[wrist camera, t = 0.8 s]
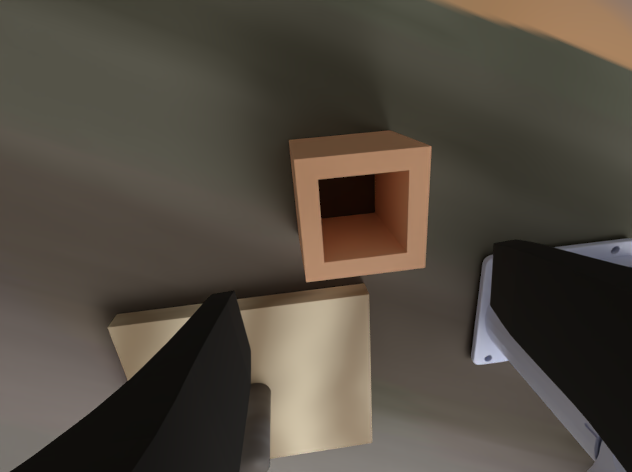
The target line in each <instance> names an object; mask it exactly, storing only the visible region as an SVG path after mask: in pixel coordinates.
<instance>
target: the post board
mask: <svg viewBox="0 0 632 472" xmlns="http://www.w3.org/2000/svg"><path fill="white" fill-rule="evenodd" d="M237 302H238V305H239V309H240V312H241V316H242V319H243V323H244V327H245V330H246V334H247V337H248V341H249V345H250V348H251V388H250V396H249V404H248V412H247V419H246V426H245V434H244V441H243V449H242V456H241V463H240V471H239V472H267V471H268V469H269V467H270V459H272V458H278V457H284V456H291V455H297V454H304V453H310V452H316V451H323V450H329V449H336V448H342V447H348V446H355V445H361V444H367V443H372V409H371V360H370V311H369V293H368V291H367V289H366V286H365V284H364V283H363V284H355V285H347V286H338V287H330V288H322V289H314V290H306V291H298V292H290V293H282V294H274V295H266V296H258V297H250V298H242V299H237ZM202 304H203V303H202ZM202 304H194V305H186V306H178V307H170V308H162V309H154V310H146V311H138V312H130V313H122V314H117V315H116V316H115V318H114V319H113V320H112V322H111V323H110V325H109V326H108V330H109V333H110V335H111V338H112V341H113V343H114V346H115V348H116V351H117V354H118V356H119V359H120V361H121V364H122V367H123V369H124V372H125V374H126V377H127V380H129V379H130V378H132V377H133V376H134V375H135V374H136V373H137V372H138V371H139V370H140V369H141V368H142V367H143V366H144V365H145V364H146V363H147V362H148V361H149V360H150V359H151V358H152V357H153V356H154V355H155V354H156V353H157V352H158V351H159V350H160V349H161V348H162V347H163V346H164V345H165V344H166V343H167V342H168V341H169V340H170V339H171V338H172V337H173V336H174V335H175V334H176V333H177V331H178V330H179V329H180V328H181V327H182V326H183V325H184V324H185V323H186V322H187V321H188V320H189V318H190V317H191V316H192V315H193V314H194V313H195V312H196V311H197V310H198V308H199V307H200V306H201V305H202Z"/></svg>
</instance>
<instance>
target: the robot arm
mask: <svg viewBox="0 0 632 472" xmlns="http://www.w3.org/2000/svg"><path fill="white" fill-rule="evenodd" d="M612 248H613V249H612ZM486 356H487V357H486ZM471 359H472V361H473V362H474V363H475V364H476V365H482V364H489V363H496V362H503V361H509V362H510V363H511V364H512V365H513V366H514V368H515V369H516V370H517V371H518V372H519V373H520V375H521V376H522V377H523V378H524V379H525V380H526V382H527V383H528V384H529V385H530V386H531V388H532V389H533V390H534V391H535V392H536V393H537V395H538V396H539V397H540V398H541V399H542V400H543V402H544V403H545V404H546V405H547V406H548V407H549V409H550V410H551V411H552V412H553V413H554V414H555V416H556V417H557V418H558V419H559V420H560V421H561V423H562V424H563V425H564V426H565V427H566V429H567V430H568V431H569V432H570V433H571V434H572V436H573V437H574V438H575V439H576V440H577V441H578V443H579V444H580V445H581V446H582V447H583V448H584V450H585V451H586V452H587V453H588V454H589V455H590V457H591V458H592V459H593V460H594V461H595V462H594V464H593V465H592V466H591V467H590V468H589V469H588V470H587V472H632V239H631V238H625V239H617V240H609V241H601V242H593V243H584V244H576V245H568V246H560V247H550V246H546V245H541V244H537V243H532V242H528V241H522V240H510V241H505V242H499V243H494V248H493V255H489V256H487V257H486V258H485V259H484V260H483V263H482V271H481V279H480V287H479V295H478V303H477V311H476V319H475V327H474V336H473V344H472V352H471ZM250 388H251V348H250V345H249V341H248V337H247V334H246V330H245V327H244V323H243V319H242V316H241V312H240V309H239V305H238V302H237V298H236V294H235V291H228V292H223V293H217V294H212V295H211V296H210V297H209V298H208V299H207V300H206V301H205V302H204V303H203V304H202V305H201V306H200V307H199V308H198V310H197V311H196V312H195V313H194V314H193V315H192V316H191V317H190V318H189V320H188V321H187V322H186V323H185V324H184V325H183V326H182V327H181V328H180V329H179V330H178V331H177V333H176V334H175V335H174V336H173V337H172V338H171V339H170V340H169V341H168V342H167V343H166V344H165V345H164V346H163V347H162V348H161V349H160V350H159V351H158V352H157V353H156V354H155V355H154V356H153V357H152V358H151V359H150V360H149V361H148V362H147V363H146V364H145V365H144V366H143V367H142V368H141V369H140V370H139V371H138V372H137V373H136V374H135V375H134V376H133V377H132V378H130V379H129V380H128V381H127V382H126V383H125V384H124V385H123V386H122V387H120V388H119V389H118V390H117V391H116V392H115V393H113V394H112V395H111V396H110V397H109V398H107V399H106V400H105V401H104V402H103V403H102V404H100V405H99V406H98V407H97V408H96V409H94V410H93V411H92V412H91V413H89V414H88V415H87V416H86V417H84V418H83V419H82V420H80V421H79V422H78V423H76V424H75V425H74V426H72V427H71V428H70V429H68V430H67V431H66V432H64V433H63V434H62V435H60V436H59V437H58V438H56V439H55V440H54V441H52V442H51V443H50V444H48V445H47V446H46V447H44V448H43V449H42V450H40V451H39V452H38V453H36V454H35V455H34V456H32V457H31V458H29V459H28V460H26V461H25V462H24V463H22V464H21V465H19V466H18V467H16V468H15V469H13V470H12V471H10V472H239V471H240V463H241V456H242V449H243V441H244V434H245V426H246V419H247V412H248V404H249V396H250Z"/></svg>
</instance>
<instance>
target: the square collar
mask: <svg viewBox="0 0 632 472" xmlns="http://www.w3.org/2000/svg"><path fill="white" fill-rule="evenodd" d="M431 147H432V146H430V145H427V144H425V143H422V142H420V141H417V140H414V139H412V138H409V137H406V136H404V135H401V134H399V133H396V132H393V131H391V130H388V131H377V132H367V133H356V134H346V135H335V136H325V137H314V138H304V139H293V140H289V149H290V158H291V168H292V177H293V186H294V196H295V205H296V215H297V224H298V234H299V240H300V247H301V253H302V259H303V265H304V271H305V277H306V282H313V281H321V280H330V279H338V278H346V277H354V276H362V275H370V274H378V273H386V272H395V271H403V270H411V269H419V268H425V263H426V244H427V224H428V205H429V186H430V166H431ZM368 174H375V213H367V214H358V215H349V216H340V217H331V218H322V219H321V212H320V199H319V186H318V180H319V179H329V178H339V177H348V176H358V175H368Z"/></svg>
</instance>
